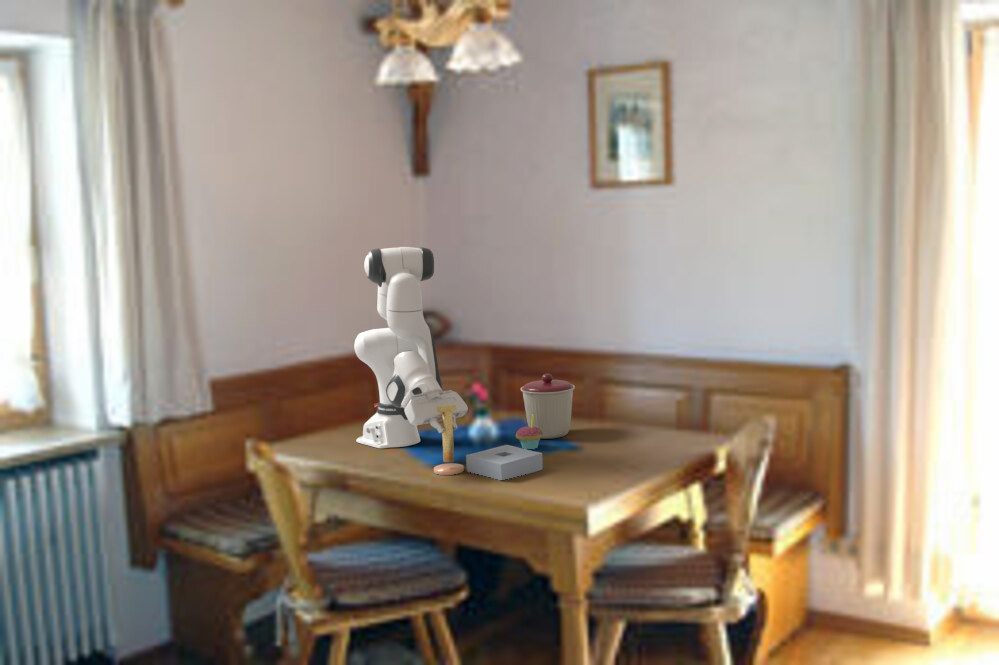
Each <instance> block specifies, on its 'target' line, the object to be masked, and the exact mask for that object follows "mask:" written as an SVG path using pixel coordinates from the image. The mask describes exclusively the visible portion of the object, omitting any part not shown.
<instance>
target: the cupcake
mask: <svg viewBox="0 0 999 665" xmlns="http://www.w3.org/2000/svg"><path fill="white" fill-rule="evenodd" d="M533 420H534V412H533V414H532V420H531V426H528V425H527V426H526V425H525V426H522V427H519V429H518V430H517V431H516V434H515V438H516V439H517V440H518V441H519V443H520V444H521V448H524V449H533V450H535V449H534V448H537V449H538V447H539V442H540V440H541V439H543V438H542V434H543V433H542V431H541V430H540V429H539V428H537V427H534V426H533Z"/></svg>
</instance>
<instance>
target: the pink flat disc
mask: <svg viewBox="0 0 999 665" xmlns="http://www.w3.org/2000/svg"><path fill="white" fill-rule="evenodd" d="M463 471H464V472H465V466H464V464H461V463H454V462H448V463H442V464H438V465H436V466H434V467H433V473H434V474H435V475H437V474H439V475H438V476H445V475H446V476H455V475H454V474H456V475H459V474H458V473H460V474H462V473H464V472H463ZM461 472H462V473H461Z"/></svg>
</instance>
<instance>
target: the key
mask: <svg viewBox="0 0 999 665" xmlns="http://www.w3.org/2000/svg"><path fill="white" fill-rule="evenodd" d="M452 410H457V409H456V404H448V405H443V406H437V412H440V413H441V412H442V421H441V425H443V426H444V427H445V431H444V432H443V433H441V436H442V460H443V461H442V462H443V463H454V462H455V448H454V447H455V446H454V444H455V443H454V430H453V415H452Z"/></svg>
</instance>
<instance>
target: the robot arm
mask: <svg viewBox="0 0 999 665" xmlns="http://www.w3.org/2000/svg"><path fill="white" fill-rule="evenodd" d="M363 262H364V263H363V264H364V265H363V266H364V271H365V274H366V276H367V278H368V279H369V280H370V281H371V282H372V283H375V284H376V285H377V301H376V302H377V304H376V308H377V309H376V310H377V314H378V315H379V316H380V317H381V318H382V319H384V320H385V321H386V323H387V327H383V328H372V329H369V330H366V331H363V332H360V333H358V334H357V336H356V338H355V340H354V345H353V346H354V353H355V355H356V357H357V358H358V359H359V360H360V361H361V362H363V363H365V365H367V366H368V367H369V368H370V369H371V370H372V372H373V373H374V375H375V377H376V381H377V386H378V392H379V395H378V396H379V401H378V402H377V403H374V404H373V405H374V408H376V412H375V413H374V414H373V415H372V416H371V417H370V418H369V419H368V420H367V421H366V422H364V424H363V428H362V429H363V430H362V436H359V437H358V438H356V443H359V444H362V445H366V446H369V447H373V448H377V449H388V448H400V447H409V446H412V445H417V444H418V443H420V442H421V438H420V434H419V430H418V426H420V425H425V424H430V426H431V427H433V428H434V429H435V430H437V433H439V434H442V433H443V432H444V431H445V427H444V426H443V425H442V424H441V423H439V422H442V412H441V413H440V412H437V406H443V405H448V404H456V409H457V410H452V415H453V431H456V430H458V425H457V423H456V422H457V421H456V420H457V419H458V418H462V417H464V416H466V414H467V413H468V410H469V407H468V405H467V403H466V402H465V401H464V399H463V397H461V396H460V395H459V393H458V392H457V391H454V390H452V389H449V390H444V385H443V381H442V377H441V375H440V371H439V364H438V359H437V351H436V344H435V338H434V333H433V330H432V327H431V325H430V324H428V323H426V320H425V318H424V317H425V316H424V313H423V295H422V294H423V293H422V288H421V283H420V282H423V281H428V280H430V279H431V278H432V277H433V276H434V274H435V270H436V259H435V255H434V253H433V251H432V250H431V249H430V248H427V247H423V246H420V247H412V246H398V247H389V248H388V247H387V248H381V249H380V248H375V249H370V250H369V251H368V252H367V253H366V256H365V259H364V261H363Z"/></svg>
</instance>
